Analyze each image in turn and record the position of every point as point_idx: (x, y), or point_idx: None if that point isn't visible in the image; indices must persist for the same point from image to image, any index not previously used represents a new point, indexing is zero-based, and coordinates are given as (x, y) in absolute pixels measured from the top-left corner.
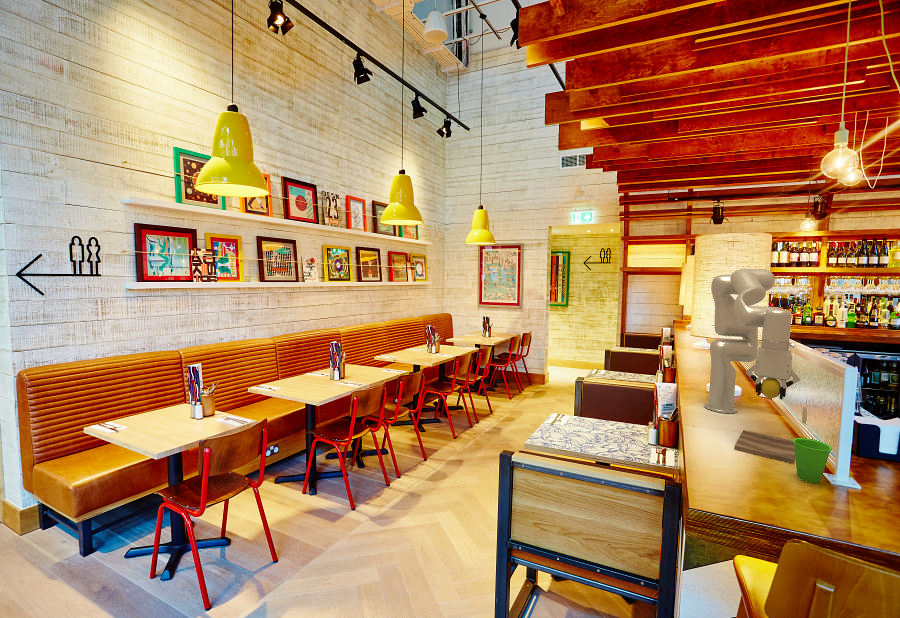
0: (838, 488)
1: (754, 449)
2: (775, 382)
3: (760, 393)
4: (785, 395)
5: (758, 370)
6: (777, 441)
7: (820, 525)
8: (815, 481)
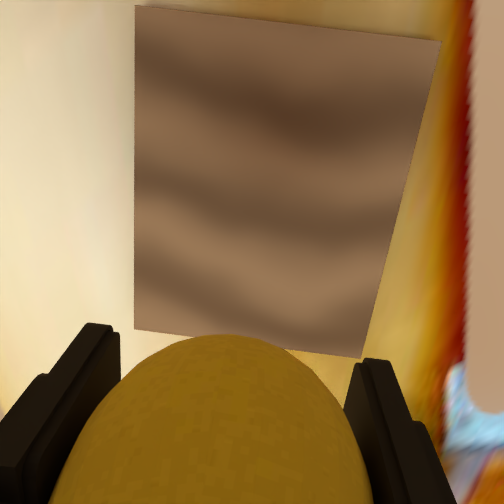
0: (457, 470)
1: (213, 331)
2: None
3: (115, 385)
4: (422, 427)
5: None
6: (322, 127)
7: None
8: None
